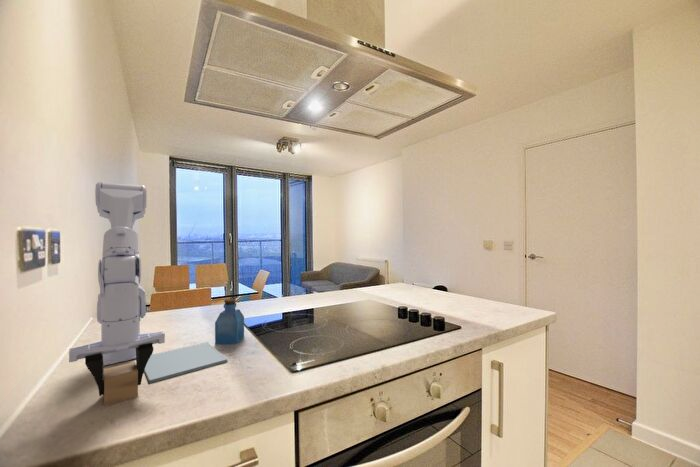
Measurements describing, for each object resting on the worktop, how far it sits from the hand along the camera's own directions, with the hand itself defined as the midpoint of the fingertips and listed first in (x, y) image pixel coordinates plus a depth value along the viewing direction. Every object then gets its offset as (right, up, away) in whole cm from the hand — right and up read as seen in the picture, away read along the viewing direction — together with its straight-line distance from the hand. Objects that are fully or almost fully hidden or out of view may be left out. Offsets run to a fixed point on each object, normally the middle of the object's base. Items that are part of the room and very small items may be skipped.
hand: (120, 388), depth 58 cm
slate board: (+3, -2, +16) cm, 16 cm away
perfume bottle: (+9, -2, +31) cm, 32 cm away
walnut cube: (0, -1, 0) cm, 1 cm away
